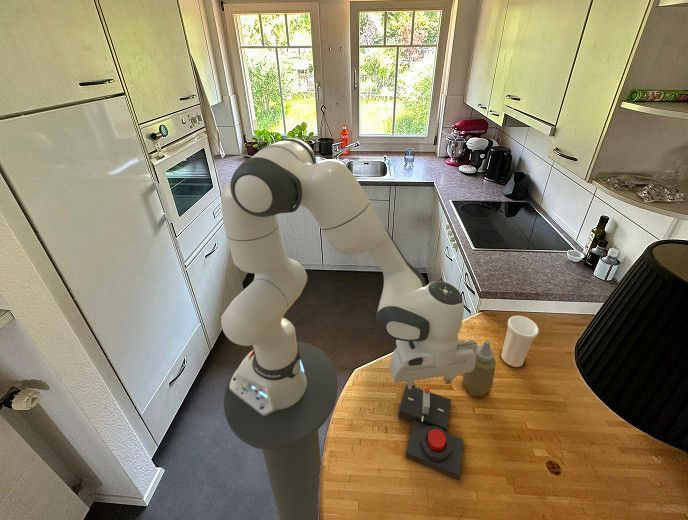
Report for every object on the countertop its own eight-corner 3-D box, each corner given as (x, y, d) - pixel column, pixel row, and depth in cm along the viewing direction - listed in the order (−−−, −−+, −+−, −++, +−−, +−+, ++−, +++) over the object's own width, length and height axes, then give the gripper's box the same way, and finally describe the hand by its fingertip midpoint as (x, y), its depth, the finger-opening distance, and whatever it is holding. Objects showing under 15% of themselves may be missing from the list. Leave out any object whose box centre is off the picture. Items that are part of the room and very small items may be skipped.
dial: (428, 414, 81) (429, 406, 80) (422, 413, 82) (423, 405, 80) (428, 396, 86) (429, 388, 84) (422, 395, 86) (424, 387, 84)
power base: (405, 457, 76) (406, 448, 74) (413, 425, 82) (414, 415, 80) (458, 480, 72) (461, 471, 70) (461, 444, 78) (464, 434, 76)
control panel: (397, 419, 83) (398, 412, 82) (406, 388, 91) (407, 381, 89) (445, 437, 79) (446, 430, 78) (449, 404, 87) (451, 396, 85)
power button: (425, 447, 74) (426, 443, 73) (429, 430, 77) (429, 426, 77) (443, 454, 73) (444, 450, 72) (446, 437, 76) (447, 433, 75)
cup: (528, 373, 95) (541, 339, 88) (498, 366, 97) (509, 332, 90) (524, 352, 102) (536, 318, 95) (496, 345, 104) (506, 312, 97)
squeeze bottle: (459, 395, 89) (471, 350, 81) (460, 371, 96) (470, 327, 87) (491, 404, 87) (506, 358, 78) (489, 378, 94) (502, 334, 85)
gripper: (472, 329, 77) (463, 367, 84) (389, 339, 75) (386, 378, 81) (485, 350, 72) (474, 389, 78) (397, 362, 69) (393, 402, 76)
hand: (429, 384), depth 80 cm, fingers open, 8 cm apart
